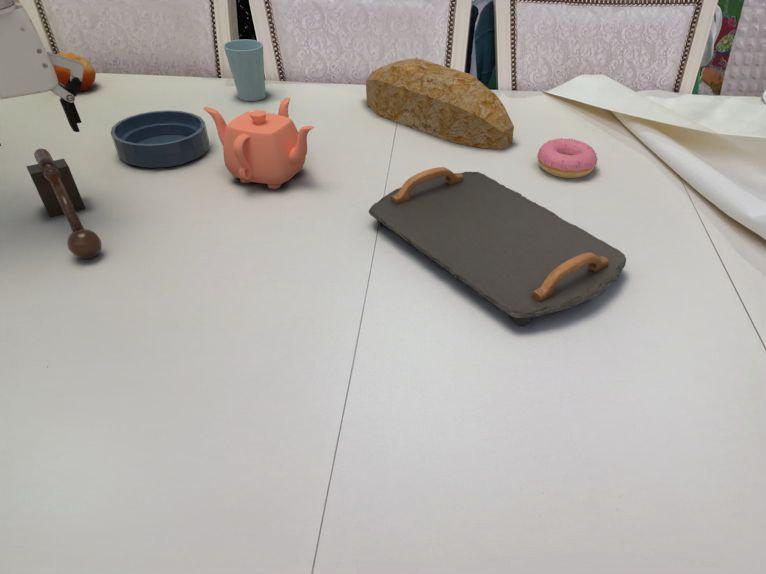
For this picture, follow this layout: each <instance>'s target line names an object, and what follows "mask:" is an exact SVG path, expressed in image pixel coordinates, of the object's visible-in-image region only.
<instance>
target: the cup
mask: <svg viewBox="0 0 766 574" xmlns="http://www.w3.org/2000/svg"><path fill="white" fill-rule="evenodd" d="M223 49H224V52H225V56H226V58H227V59H226V60H227V62H228V65H229V68H230V72H231V75H232V78H233V82H234V85H235V88H236V92H237V95H238V97H239V99H240V100H242V101H245V102H257V101H261V100H264V99H265V98H266V96H267V95H266V94H267V93H266V79H265V78H266V77H265V76H266V75H265V60H264V44H263V43H262V42H261V41H259V40H256V39H246V38H245V39H242V38H241V39H234V40H230V41H227V42H225V43H224V44H223Z"/></svg>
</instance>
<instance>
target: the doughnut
mask: <svg viewBox="0 0 766 574" xmlns="http://www.w3.org/2000/svg"><path fill="white" fill-rule="evenodd" d="M597 154H598V153H596V151H595V150H594V148H593V146H590V145H589V144H588V143H585V142H584V141H580V140H577V139H573V138H562V137H561V138H554V139H551V140H548V141H547V142H544V143H543V144H542V145H541V146H540V148H539V150H538V151H537V156H536V157H537V160H538V164H539V166H540V167H541V168H542V170H543V171H545V172H546V173H548V174H550V175H552V176H555V177H559V178H563V179H577V178H583V177H585V176H587V175H589V174H591V172H593V171H594V169H595V167H596V165H597V163H598V156H597Z"/></svg>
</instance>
